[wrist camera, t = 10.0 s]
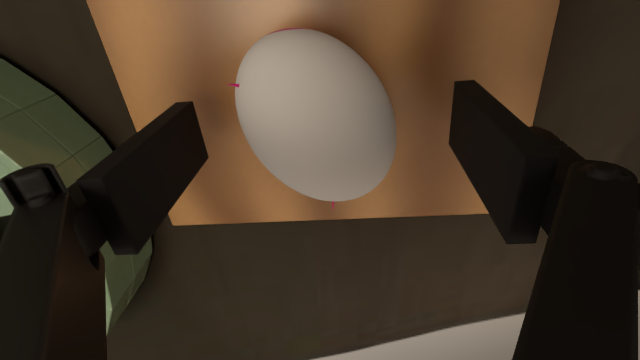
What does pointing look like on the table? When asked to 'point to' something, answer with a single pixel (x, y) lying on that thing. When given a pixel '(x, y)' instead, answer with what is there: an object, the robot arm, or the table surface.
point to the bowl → (60, 165)
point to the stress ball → (315, 114)
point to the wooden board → (367, 41)
